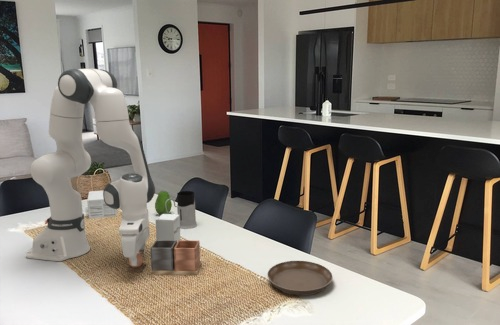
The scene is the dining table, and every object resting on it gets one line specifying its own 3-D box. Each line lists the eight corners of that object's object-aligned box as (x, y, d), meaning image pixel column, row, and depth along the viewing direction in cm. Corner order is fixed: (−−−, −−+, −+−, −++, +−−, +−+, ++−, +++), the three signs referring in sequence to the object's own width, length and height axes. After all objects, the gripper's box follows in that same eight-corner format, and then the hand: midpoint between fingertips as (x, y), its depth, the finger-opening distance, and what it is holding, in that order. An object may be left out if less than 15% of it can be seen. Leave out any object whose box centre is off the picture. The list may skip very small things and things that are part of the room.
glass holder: (200, 226, 196) (199, 193, 193) (170, 232, 188) (169, 199, 185) (191, 221, 203) (190, 189, 200) (162, 227, 195) (160, 194, 192)
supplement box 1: (90, 209, 223) (88, 191, 221) (117, 206, 227) (115, 189, 225) (88, 219, 207) (86, 200, 206) (117, 216, 211) (116, 197, 209)
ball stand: (126, 271, 151) (126, 268, 151) (131, 265, 156) (131, 262, 156) (141, 271, 151) (141, 268, 151) (146, 265, 156) (145, 262, 156)
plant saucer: (316, 306, 128) (316, 295, 127) (255, 288, 139) (255, 278, 138) (341, 278, 145) (342, 269, 145) (285, 264, 156) (285, 256, 155)
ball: (127, 270, 151) (126, 256, 150) (131, 264, 156) (130, 250, 155) (141, 270, 151) (140, 256, 150) (145, 264, 156) (144, 250, 155)
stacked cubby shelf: (150, 274, 149) (148, 249, 147) (157, 263, 158) (155, 239, 156) (197, 274, 148) (196, 249, 146) (201, 263, 157) (200, 239, 155)
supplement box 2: (174, 252, 168) (173, 220, 165) (156, 250, 169) (154, 219, 167) (181, 244, 175) (180, 214, 172) (163, 243, 176) (162, 213, 174)
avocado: (170, 217, 209) (169, 192, 206) (153, 217, 209) (152, 192, 206) (173, 212, 216) (172, 188, 214) (157, 212, 217) (156, 188, 214)
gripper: (135, 212, 161) (137, 248, 164) (116, 231, 141) (120, 271, 143) (152, 212, 161) (154, 247, 163) (136, 231, 141) (139, 271, 143)
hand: (138, 259), depth 153 cm, fingers open, 8 cm apart
